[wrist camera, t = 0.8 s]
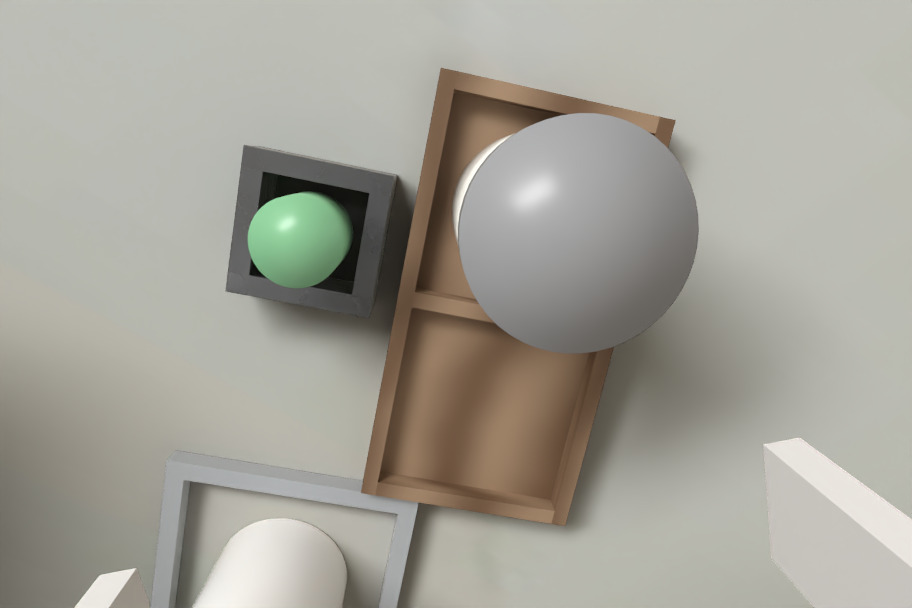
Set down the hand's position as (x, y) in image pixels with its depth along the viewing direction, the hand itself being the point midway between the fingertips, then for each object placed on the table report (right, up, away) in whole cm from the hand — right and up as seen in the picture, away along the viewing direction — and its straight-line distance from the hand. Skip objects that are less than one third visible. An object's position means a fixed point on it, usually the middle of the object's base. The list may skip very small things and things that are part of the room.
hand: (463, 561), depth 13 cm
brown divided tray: (+2, +5, +21) cm, 22 cm away
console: (-7, +9, +19) cm, 23 cm away
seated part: (+4, +10, +19) cm, 22 cm away
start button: (-7, +9, +17) cm, 21 cm away
